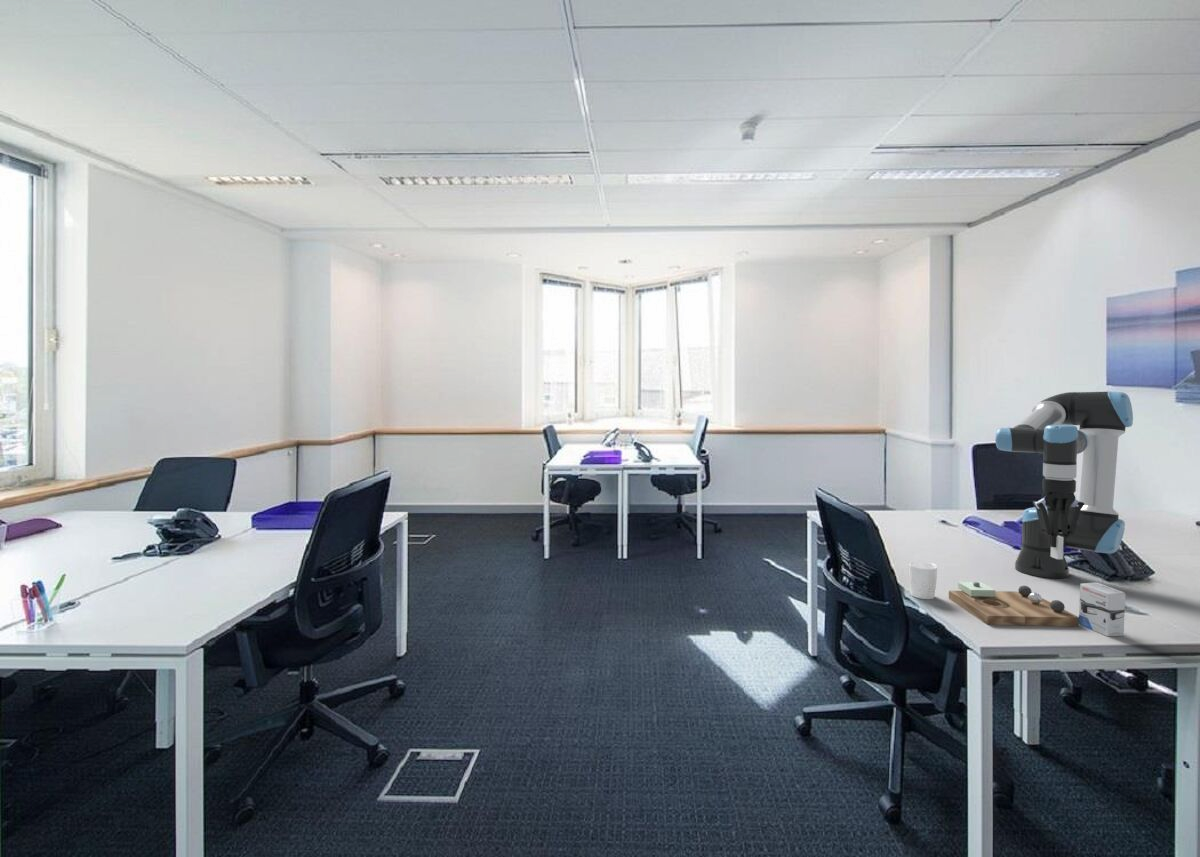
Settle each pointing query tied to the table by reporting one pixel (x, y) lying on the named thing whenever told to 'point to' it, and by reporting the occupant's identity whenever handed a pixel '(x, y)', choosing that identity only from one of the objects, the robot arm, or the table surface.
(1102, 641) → the table surface
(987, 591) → the mint green square lid
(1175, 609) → the table surface
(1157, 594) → the table surface
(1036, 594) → the steel ball
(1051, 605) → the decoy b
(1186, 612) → the table surface
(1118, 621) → the ink box
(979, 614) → the wooden cutting board
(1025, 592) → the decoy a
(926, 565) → the white cup
